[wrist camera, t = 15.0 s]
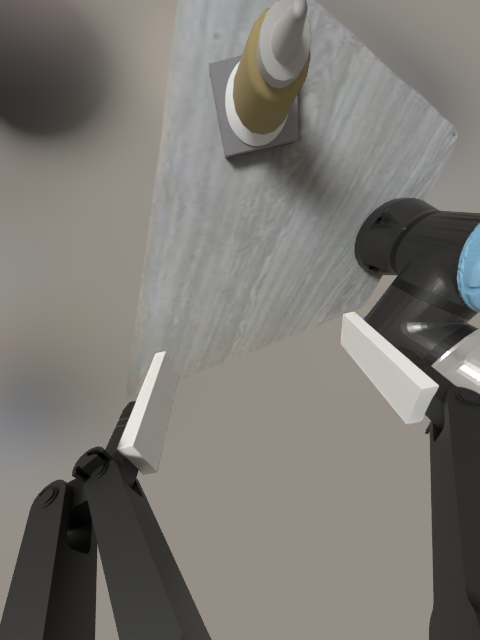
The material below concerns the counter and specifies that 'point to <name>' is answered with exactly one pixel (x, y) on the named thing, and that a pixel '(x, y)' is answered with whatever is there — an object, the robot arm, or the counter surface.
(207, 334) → the counter surface
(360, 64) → the counter surface
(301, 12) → the squeeze bottle
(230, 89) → the white dome on base
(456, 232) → the robot arm
